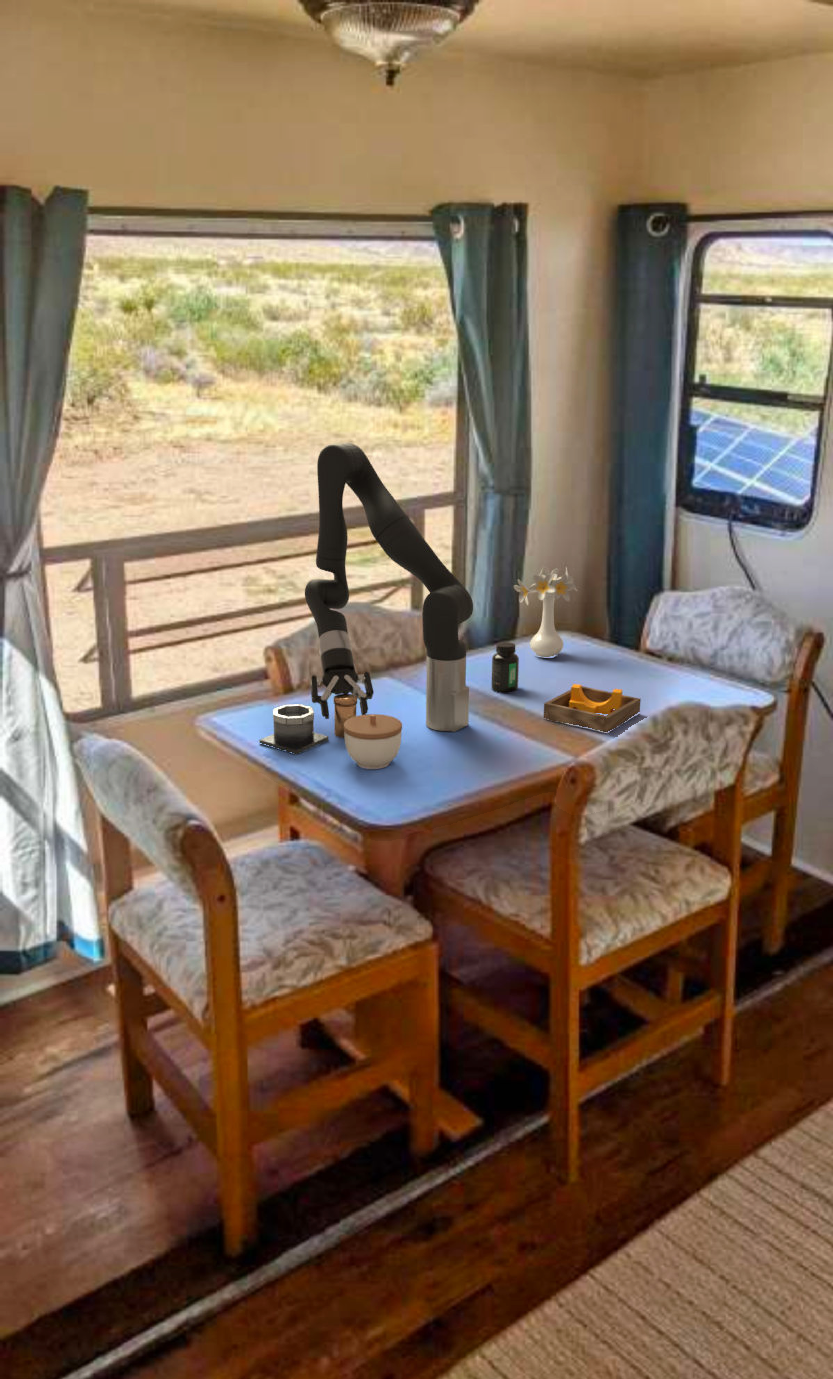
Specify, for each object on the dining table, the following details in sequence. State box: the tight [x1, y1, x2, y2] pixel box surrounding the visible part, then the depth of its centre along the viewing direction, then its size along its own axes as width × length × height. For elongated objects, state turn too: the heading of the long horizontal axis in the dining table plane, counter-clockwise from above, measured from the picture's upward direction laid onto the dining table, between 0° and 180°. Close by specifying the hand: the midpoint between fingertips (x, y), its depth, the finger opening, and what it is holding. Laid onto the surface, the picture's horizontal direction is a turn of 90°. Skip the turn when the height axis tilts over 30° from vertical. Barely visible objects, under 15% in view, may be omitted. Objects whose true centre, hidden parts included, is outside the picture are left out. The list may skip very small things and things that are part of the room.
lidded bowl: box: [344, 713, 403, 770], centre depth 261 cm, size 13×13×11 cm
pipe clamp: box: [569, 683, 623, 714], centre depth 292 cm, size 12×4×6 cm, turn 70°
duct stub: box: [259, 703, 329, 755], centre depth 273 cm, size 11×11×8 cm
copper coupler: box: [333, 693, 358, 739], centre depth 278 cm, size 5×5×9 cm
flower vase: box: [513, 566, 579, 657], centre depth 334 cm, size 13×18×25 cm
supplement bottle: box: [490, 641, 520, 694], centre depth 309 cm, size 7×7×12 cm
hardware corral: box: [543, 685, 642, 732], centre depth 291 cm, size 17×17×4 cm
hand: (345, 716), depth 276 cm, fingers open, 8 cm apart
